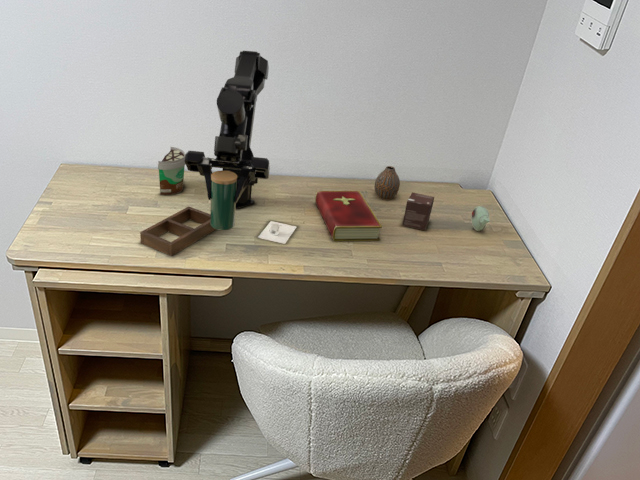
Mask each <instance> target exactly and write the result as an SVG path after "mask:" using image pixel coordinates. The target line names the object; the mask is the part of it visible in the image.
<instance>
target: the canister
mask: <svg viewBox="0 0 640 480" xmlns="http://www.w3.org/2000/svg"><path fill="white" fill-rule="evenodd" d="M236 185H237V175H236V174H235V173H234V172H231V171H222V170H216V171H212V174H211V200H210V214H211V216H210V225H211V226H212V227H213V228H215V229H216V230H217V231H228V230H231V229H233V228H234V227H235V223H236V208H235V206H236V203H235V194H236Z"/></svg>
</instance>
